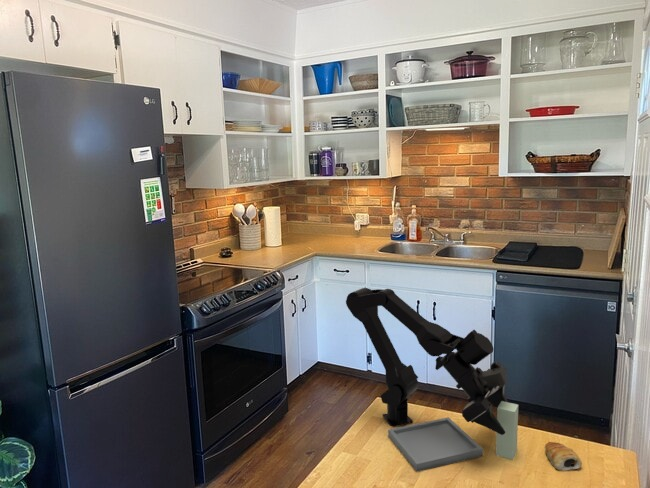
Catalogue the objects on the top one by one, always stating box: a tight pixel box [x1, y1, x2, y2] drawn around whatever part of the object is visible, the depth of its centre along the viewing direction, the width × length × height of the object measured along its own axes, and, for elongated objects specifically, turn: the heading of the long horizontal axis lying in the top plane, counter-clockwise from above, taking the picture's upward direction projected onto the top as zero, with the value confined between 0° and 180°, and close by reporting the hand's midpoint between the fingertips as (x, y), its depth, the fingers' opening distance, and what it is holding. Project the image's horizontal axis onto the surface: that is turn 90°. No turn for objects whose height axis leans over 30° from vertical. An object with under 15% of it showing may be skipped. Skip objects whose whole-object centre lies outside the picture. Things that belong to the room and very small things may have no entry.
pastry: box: [544, 441, 583, 472], centre depth 120 cm, size 9×7×4 cm
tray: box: [387, 416, 484, 473], centre depth 127 cm, size 16×18×2 cm
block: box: [495, 401, 519, 461], centre depth 122 cm, size 4×4×12 cm
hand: (508, 424), depth 122 cm, fingers open, 9 cm apart
